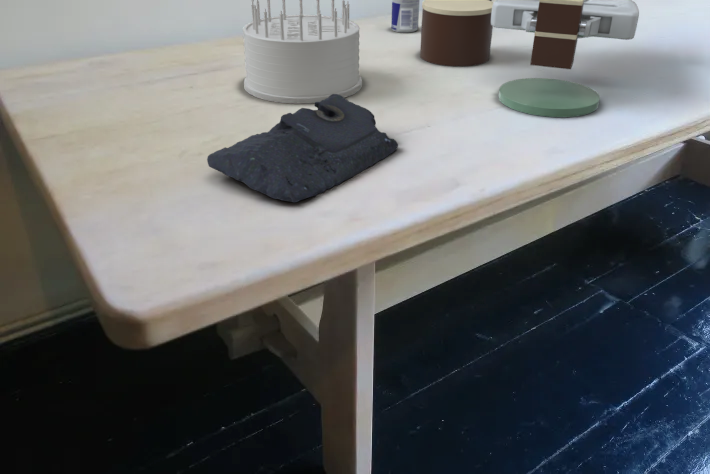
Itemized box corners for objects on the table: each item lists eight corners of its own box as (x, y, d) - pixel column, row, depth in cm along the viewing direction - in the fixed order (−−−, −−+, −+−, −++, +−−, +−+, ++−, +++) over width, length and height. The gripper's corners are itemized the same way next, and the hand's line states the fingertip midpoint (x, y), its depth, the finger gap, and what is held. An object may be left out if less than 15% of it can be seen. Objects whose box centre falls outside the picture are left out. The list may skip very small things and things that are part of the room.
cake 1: (366, 102, 95) (368, 5, 88) (239, 104, 94) (231, 6, 87) (357, 66, 110) (358, -18, 103) (248, 68, 109) (241, -17, 102)
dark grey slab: (186, 174, 73) (181, 134, 71) (311, 118, 89) (310, 83, 86) (292, 213, 66) (290, 169, 63) (409, 144, 81) (410, 107, 79)
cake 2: (495, 51, 119) (501, -1, 114) (482, 69, 109) (488, 13, 104) (429, 45, 123) (432, -6, 118) (410, 62, 113) (413, 7, 108)
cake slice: (573, 61, 94) (585, -5, 89) (570, 69, 91) (582, 1, 86) (534, 57, 96) (543, -8, 91) (530, 65, 92) (539, -3, 88)
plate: (601, 91, 99) (602, 83, 99) (595, 122, 88) (597, 114, 87) (507, 81, 104) (508, 73, 103) (490, 109, 92) (491, 101, 92)
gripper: (501, -18, 103) (483, -2, 92) (642, -8, 96) (641, 10, 85) (496, 24, 106) (479, 44, 95) (632, 36, 100) (630, 59, 89)
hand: (557, 28), depth 90 cm, fingers closed on cake slice, 5 cm apart
